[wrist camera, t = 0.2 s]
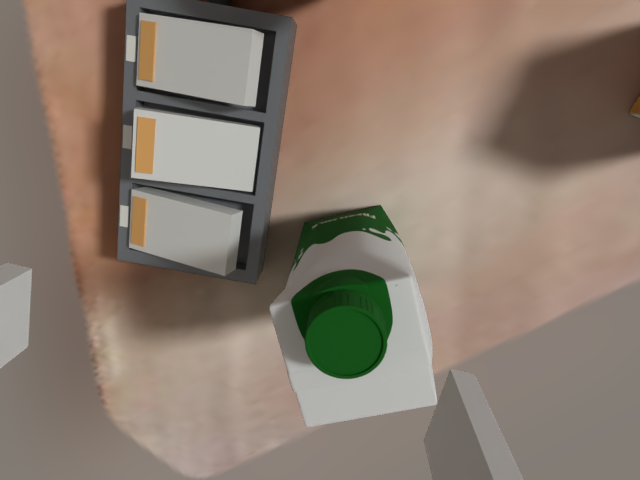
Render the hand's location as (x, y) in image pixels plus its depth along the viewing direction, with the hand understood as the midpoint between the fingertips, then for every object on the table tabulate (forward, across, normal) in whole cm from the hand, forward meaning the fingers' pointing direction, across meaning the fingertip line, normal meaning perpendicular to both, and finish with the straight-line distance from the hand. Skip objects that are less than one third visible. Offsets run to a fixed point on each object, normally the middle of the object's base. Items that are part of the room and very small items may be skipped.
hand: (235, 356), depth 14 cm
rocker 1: (+24, -9, +8) cm, 27 cm away
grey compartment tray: (+27, -9, +5) cm, 29 cm away
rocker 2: (+24, -9, +2) cm, 25 cm away
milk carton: (+27, +5, -4) cm, 28 cm away
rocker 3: (+24, -8, -5) cm, 26 cm away
